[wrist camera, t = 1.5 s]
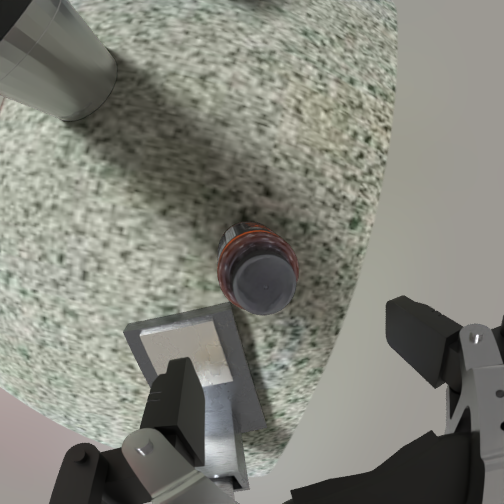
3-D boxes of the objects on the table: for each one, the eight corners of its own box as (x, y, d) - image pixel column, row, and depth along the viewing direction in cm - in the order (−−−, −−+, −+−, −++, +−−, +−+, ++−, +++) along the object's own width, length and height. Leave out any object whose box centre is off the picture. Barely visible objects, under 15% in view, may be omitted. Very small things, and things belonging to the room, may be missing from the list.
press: (128, 323, 28) (89, 390, 16) (230, 301, 28) (239, 369, 17) (184, 431, 32) (180, 497, 20) (264, 417, 33) (281, 484, 21)
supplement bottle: (285, 233, 28) (328, 260, 17) (262, 285, 28) (288, 340, 17) (231, 210, 26) (240, 223, 15) (208, 265, 27) (203, 313, 16)
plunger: (191, 443, 24) (190, 531, 13) (234, 437, 24) (246, 528, 13) (205, 463, 25) (209, 542, 14) (244, 458, 26) (258, 538, 14)
